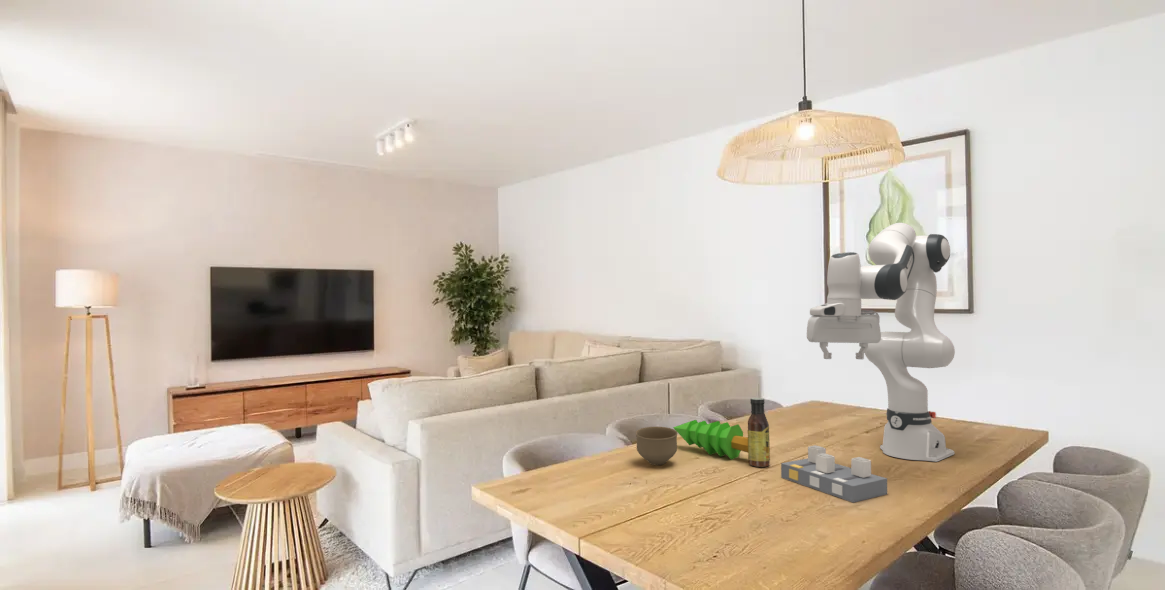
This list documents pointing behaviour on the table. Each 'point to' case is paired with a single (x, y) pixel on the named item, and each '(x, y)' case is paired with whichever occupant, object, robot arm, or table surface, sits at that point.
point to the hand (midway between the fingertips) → (843, 359)
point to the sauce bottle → (758, 435)
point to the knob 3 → (861, 467)
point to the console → (834, 481)
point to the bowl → (656, 444)
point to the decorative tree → (714, 437)
